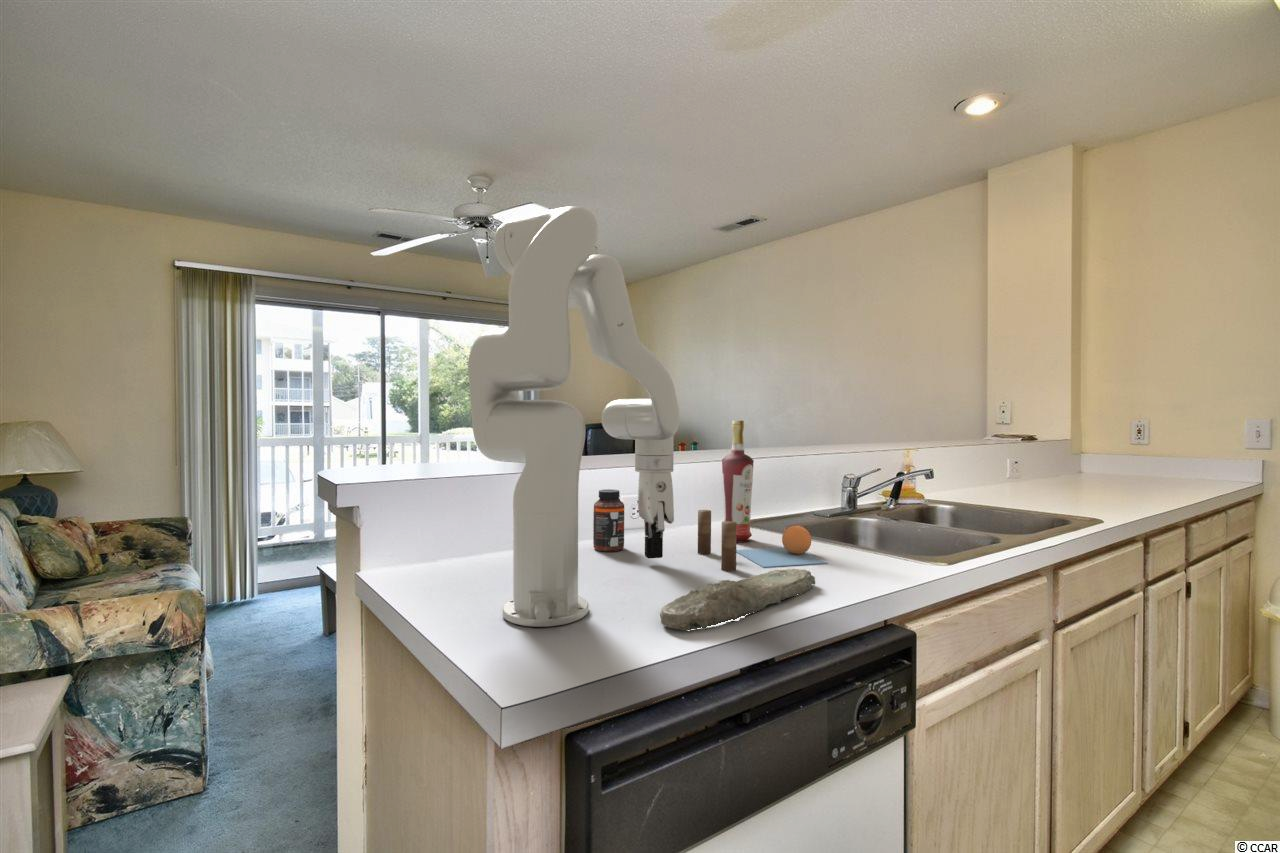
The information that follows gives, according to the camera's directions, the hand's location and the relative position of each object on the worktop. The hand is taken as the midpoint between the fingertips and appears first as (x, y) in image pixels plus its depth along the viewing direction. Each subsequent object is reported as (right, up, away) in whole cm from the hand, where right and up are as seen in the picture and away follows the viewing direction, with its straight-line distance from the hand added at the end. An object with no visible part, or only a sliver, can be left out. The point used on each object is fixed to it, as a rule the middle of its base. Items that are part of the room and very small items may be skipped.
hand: (653, 557), depth 115 cm
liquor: (+20, -1, +23) cm, 30 cm away
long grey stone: (+14, -3, -23) cm, 27 cm away
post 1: (+11, -1, +10) cm, 15 cm away
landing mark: (+26, -2, +7) cm, 27 cm away
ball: (+31, +2, +9) cm, 32 cm away
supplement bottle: (-9, -1, +13) cm, 16 cm away
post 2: (+14, -2, -3) cm, 15 cm away
